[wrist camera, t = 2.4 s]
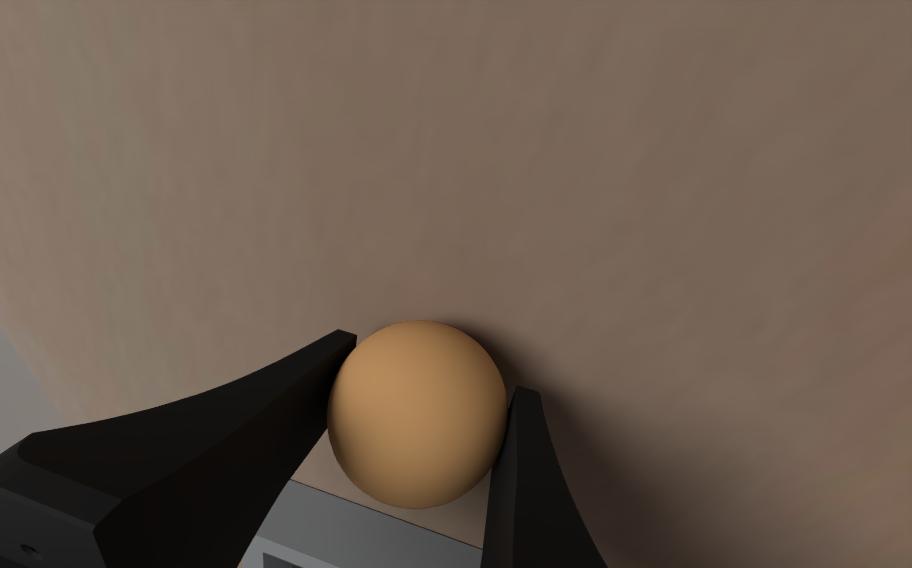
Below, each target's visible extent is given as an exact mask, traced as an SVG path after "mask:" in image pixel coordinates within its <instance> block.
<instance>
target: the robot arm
mask: <svg viewBox="0 0 912 568" xmlns="http://www.w3.org/2000/svg"><path fill="white" fill-rule="evenodd" d="M356 341H357V335H355V334H352V333H349V332H346V331H342V330H339V329H338V330H336V331H334V332H332V333H330V334H328V335H326V336H324V337H322V338H320V339H319V340H317V341H315V342H313V343H311V344H309V345H307V346H306V347H304V348H302V349H300V350H298V351H296V352H294V353H292V354H290V355H288V356H286V357H284V358H283V359H281V360H279V361H277V362H275V363H273V364H270V365H268V366H266V367H264V368H262V369H260V370H257V371H255V372H253V373H251V374H249V375H247V376H244V377H242V378H240V379H237V380H235V381H232V382H230V383H227V384H225V385H222V386H219V387H217V388H214V389H211V390H208V391H206V392H203V393H200V394H197V395H194V396H191V397H187V398H184V399H181V400H178V401H174V402H171V403H168V404H165V405H161V406H158V407H154V408H151V409H147V410H143V411H139V412H135V413H131V414H127V415H123V416H118V417H114V418H110V419H105V420H101V421H96V422H91V423H86V424H80V425H75V426H69V427H64V428H59V429H53V430H47V431H41V432H35V433H32V434H30V435H28V436H27V437H25V438H24V439H23V440H21V441H19V442H18V443H16V444H15V445H13V446H12V447H10V448H9V449H7V450H6V451H4V452H3V453H1V454H0V568H237V567H238V565H239V563H240V561H241V559H242V558H243V556H244V554H245V552H246V551H247V549H248V547H249V546H250V544H251V542H252V540H253V539H254V537H255V535H256V533H257V532H258V530H259V528H260V526H261V525H262V523H263V521H264V520H265V518H266V516H267V515H268V513H269V511H270V510H271V508H272V506H273V505H274V503H275V501H276V500H277V498H278V496H279V495H280V493H281V491H282V490H283V489H284V487H285V486H286V484H287V483H288V481H289V480H290V478H291V477H292V475H293V474H294V473H295V471H296V470H297V469H298V467H299V466H300V465H301V463H302V462H303V460H304V459H305V458H306V456H307V455H308V454H309V452H310V451H311V450H312V448H313V447H314V445H315V444H316V443H317V441H318V440H319V439H320V437H321V436H322V435H323V433H324V432H325V430H326V429H327V428H328V427H327V407H328V400H329V395H330V391H331V388H332V385H333V382H334V380H335V377H336V375H337V373H338V371H339V369H340V367H341V366H342V364H343V363H344V361H345V360H346V358H347V357H348V356H349V355H350V353H351V352H352V351H353V350H354V349H355V348H356ZM480 568H608V567H607V565H606V564H605V562H604V560H603V559H602V557H601V555H600V553H599V552H598V550H597V548H596V546H595V544H594V542H593V540H592V538H591V536H590V534H589V532H588V530H587V529H586V527H585V524H584V522H583V520H582V518H581V516H580V514H579V512H578V510H577V507H576V505H575V503H574V501H573V498H572V496H571V494H570V491H569V489H568V486H567V484H566V481H565V479H564V476H563V474H562V471H561V468H560V465H559V463H558V460H557V457H556V454H555V451H554V448H553V445H552V442H551V438H550V435H549V431H548V428H547V424H546V420H545V416H544V412H543V407H542V402H541V396H540V394H539V393H538V392H537V391H534V390H530V389H527V388H524V387H521V386H518V385H517V386H516V389H515V392H514V395H513V398H512V400H511V403H510V406H509V409H508V419H507V428H506V433H505V437H504V441H503V445H502V447H501V449H500V452H499V454H498V456H497V458H496V460H495V462H494V464H493V466H492V472H491V481H490V490H489V499H488V507H487V516H486V525H485V534H484V543H483V551H482V558H481V565H480Z"/></svg>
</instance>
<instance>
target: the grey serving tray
mask: <svg viewBox="0 0 912 568" xmlns="http://www.w3.org/2000/svg"><path fill="white" fill-rule="evenodd" d="M482 551H483V550H481V549H478V548H475V547H473V546H470V545H467V544H464V543H462V542H459V541H456V540H453V539H451V538H448V537H445V536H443V535H440V534H437V533H434V532H432V531H429V530H426V529H423V528H421V527H418V526H415V525H412V524H410V523H407V522H404V521H401V520H399V519H396V518H393V517H391V516H388V515H385V514H382V513H380V512H377V511H374V510H371V509H369V508H366V507H363V506H360V505H358V504H355V503H352V502H349V501H347V500H344V499H341V498H339V497H336V496H333V495H330V494H328V493H325V492H322V491H319V490H317V489H314V488H311V487H308V486H306V485H303V484H300V483H298V482H295V481H292V480H289V481H288V483H287V484H286V486H285V487H284V489H283V490H282V491H281V493H280V495H279V496H278V498H277V500H276V501H275V503H274V505H273V506H272V508H271V510H270V511H269V513H268V515H267V516H266V518H265V520H264V521H263V523H262V525H261V526H260V528H259V530H258V532H257V533H256V535H255V537H254V539H253V540H252V542H251V544H250V546H249V547H248V549H247V551H246V552H245V554H244V556H243V558H242V566H243V568H480V565H481V558H482Z"/></svg>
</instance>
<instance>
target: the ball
mask: <svg viewBox="0 0 912 568" xmlns="http://www.w3.org/2000/svg"><path fill="white" fill-rule="evenodd" d="M507 419H508V405H507V396H506V391H505V387H504V384H503V380H502V378H501V375H500V373H499V370H498V369H497V367H496V365H495V364H494V362H493V360H492V359H491V357H490V356H489V355H488V353H487V352H486V351H485V350H484V349H483V348H482V347H481V346H480V344H479V343H477V342H476V341H475V340H474V339H472V338H471V337H470V336H468V335H467V334H465V333H464V332H462V331H460V330H458V329H456V328H454V327H451V326H448V325H446V324H442V323H438V322H432V321H417V320H416V321H407V322H401V323H397V324H393V325H391V326H388V327H386V328H383V329H381V330H379V331H377V332H375V333H374V334H372V335H370V336H369V337H368V338H366V339H365V340H364V341H363V342H361V343H360V344H359V345H358V346H357V347H356V348H355V349H354V350H353V351H352V352H351V353H350V355H349V356H348V357H347V358H346V360H345V361H344V363H343V364H342V366H341V367H340V369H339V371H338V373H337V375H336V377H335V380H334V382H333V385H332V388H331V391H330V395H329V400H328V407H327V427H328V434H329V440H330V443H331V446H332V449H333V452H334V455H335V457H336V459H337V461H338V463H339V465H340V466H341V468H342V469H343V471H344V472H345V474H346V475H347V476H348V478H349V479H350V480H351V481H352V482H353V483H354V484H355V485H356V486H357V487H358V488H359V489H361V490H362V491H363V492H365V493H366V494H367V495H369V496H370V497H372V498H374V499H376V500H378V501H380V502H382V503H385V504H388V505H391V506H395V507H400V508H406V509H424V508H431V507H436V506H440V505H443V504H445V503H448V502H450V501H453V500H455V499H457V498H459V497H460V496H462V495H463V494H465V493H466V492H468V491H469V490H471V489H472V488H473V487H474V486H475V485H476V484H477V483H478V482H479V481H480V480H481V479H482V478H483V477H484V476H485V475H486V474H487V472H488V471H489V469H490V468H491V467H492V465H493V464H494V462H495V460H496V458H497V456H498V454H499V452H500V449H501V447H502V445H503V441H504V437H505V433H506V428H507Z"/></svg>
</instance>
